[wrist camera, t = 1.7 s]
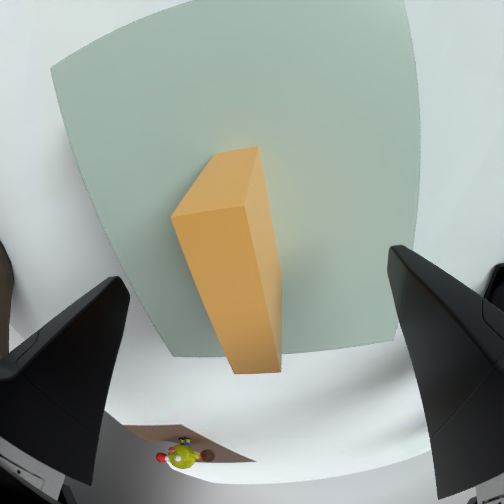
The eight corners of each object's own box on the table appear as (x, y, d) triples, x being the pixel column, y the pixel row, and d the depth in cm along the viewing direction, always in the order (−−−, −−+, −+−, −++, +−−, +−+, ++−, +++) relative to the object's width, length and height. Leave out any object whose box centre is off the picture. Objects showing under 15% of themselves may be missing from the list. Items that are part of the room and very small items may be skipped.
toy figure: (202, 429, 41) (195, 463, 36) (226, 438, 43) (221, 471, 38) (151, 436, 49) (144, 462, 43) (171, 445, 51) (166, 470, 46)
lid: (386, 316, 17) (411, 412, 11) (180, 333, 19) (154, 422, 14) (382, -3, 7) (476, -51, 1) (76, 64, 9) (-41, 90, 4)
